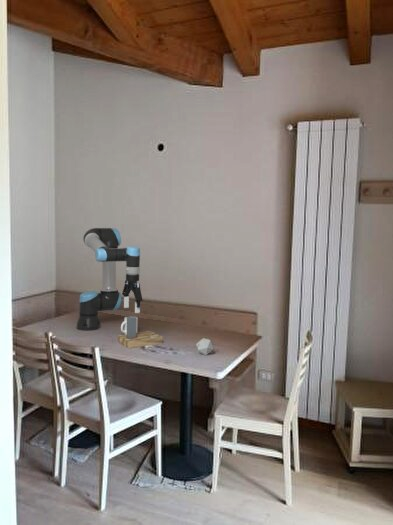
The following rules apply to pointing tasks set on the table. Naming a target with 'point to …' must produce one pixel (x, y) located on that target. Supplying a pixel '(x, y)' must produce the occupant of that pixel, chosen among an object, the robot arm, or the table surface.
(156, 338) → the port block
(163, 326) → the table surface
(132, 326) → the plug
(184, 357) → the table surface
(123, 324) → the mug
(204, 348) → the die
